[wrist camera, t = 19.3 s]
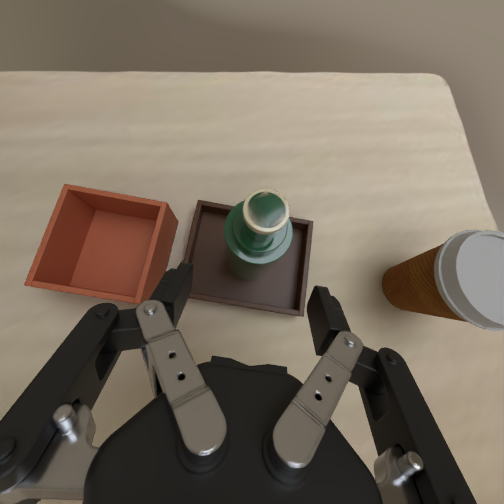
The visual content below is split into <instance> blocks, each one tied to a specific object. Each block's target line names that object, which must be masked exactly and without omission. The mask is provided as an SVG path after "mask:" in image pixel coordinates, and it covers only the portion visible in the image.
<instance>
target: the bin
mask: <svg viewBox="0 0 504 504" xmlns="http://www.w3.org/2000/svg"><path fill="white" fill-rule="evenodd" d="M177 225H178V220H177V218H176V217H175V215H174V214H173V212H172V210H171V209H170V207H169V205H168V204H167V203H166V202H161V201H155V200H150V199H145V198H139V197H134V196H128V195H123V194H118V193H112V192H107V191H101V190H96V189H91V188H85V187H80V186H74V185H69V184H64V186H63V189H62V191H61V194H60V196H59V199H58V201H57V204H56V206H55V209H54V211H53V214H52V216H51V219H50V221H49V224H48V226H47V229H46V231H45V234H44V236H43V239H42V241H41V244H40V246H39V249H38V251H37V254H36V256H35V259H34V261H33V264H32V266H31V269H30V271H29V274H28V276H27V279H26V281H25V284H24V285H25V286H31V287H37V288H43V289H49V290H55V291H61V292H68V293H74V294H80V295H86V296H92V297H98V298H104V299H111V300H117V301H123V302H129V303H135V304H141V303H142V302H144V301H148V300H149V298H150V296H151V295H152V293H153V291H154V290H155V288H156V287H157V285H158V284H159V282H160V280H161V279H162V277H163V275H164V274H165V272H166V268H167V264H168V261H169V257H170V253H171V249H172V245H173V241H174V237H175V233H176V229H177Z"/></svg>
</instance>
